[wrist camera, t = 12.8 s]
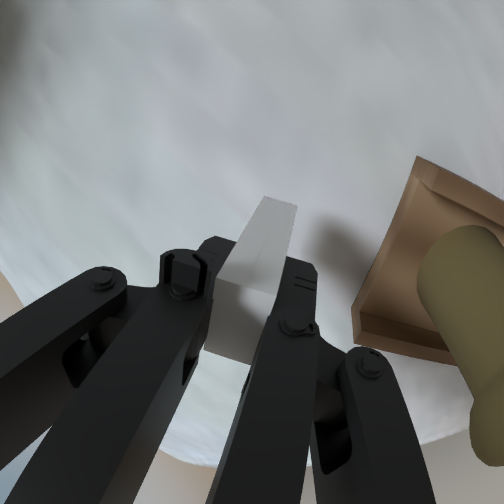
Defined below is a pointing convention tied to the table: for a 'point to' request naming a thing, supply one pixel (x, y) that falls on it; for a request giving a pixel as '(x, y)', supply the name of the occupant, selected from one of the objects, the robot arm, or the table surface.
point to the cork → (471, 324)
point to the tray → (417, 261)
